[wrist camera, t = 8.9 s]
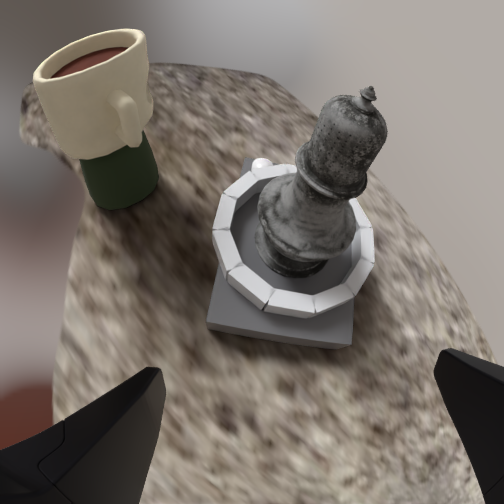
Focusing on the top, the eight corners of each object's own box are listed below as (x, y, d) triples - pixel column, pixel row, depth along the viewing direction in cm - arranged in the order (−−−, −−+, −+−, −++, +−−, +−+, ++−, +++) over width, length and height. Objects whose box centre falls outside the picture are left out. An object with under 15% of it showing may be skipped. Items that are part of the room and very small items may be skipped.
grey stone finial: (261, 290, 17) (336, 136, 6) (241, 209, 19) (271, 43, 9) (346, 273, 18) (465, 150, 8) (318, 201, 21) (388, 63, 10)
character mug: (195, 198, 22) (190, 47, 11) (123, 252, 20) (52, 111, 8) (129, 136, 25) (108, 20, 13) (70, 175, 22) (22, 62, 10)
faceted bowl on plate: (345, 350, 18) (373, 342, 15) (196, 326, 18) (191, 312, 14) (348, 202, 24) (367, 174, 21) (233, 175, 24) (237, 141, 20)
